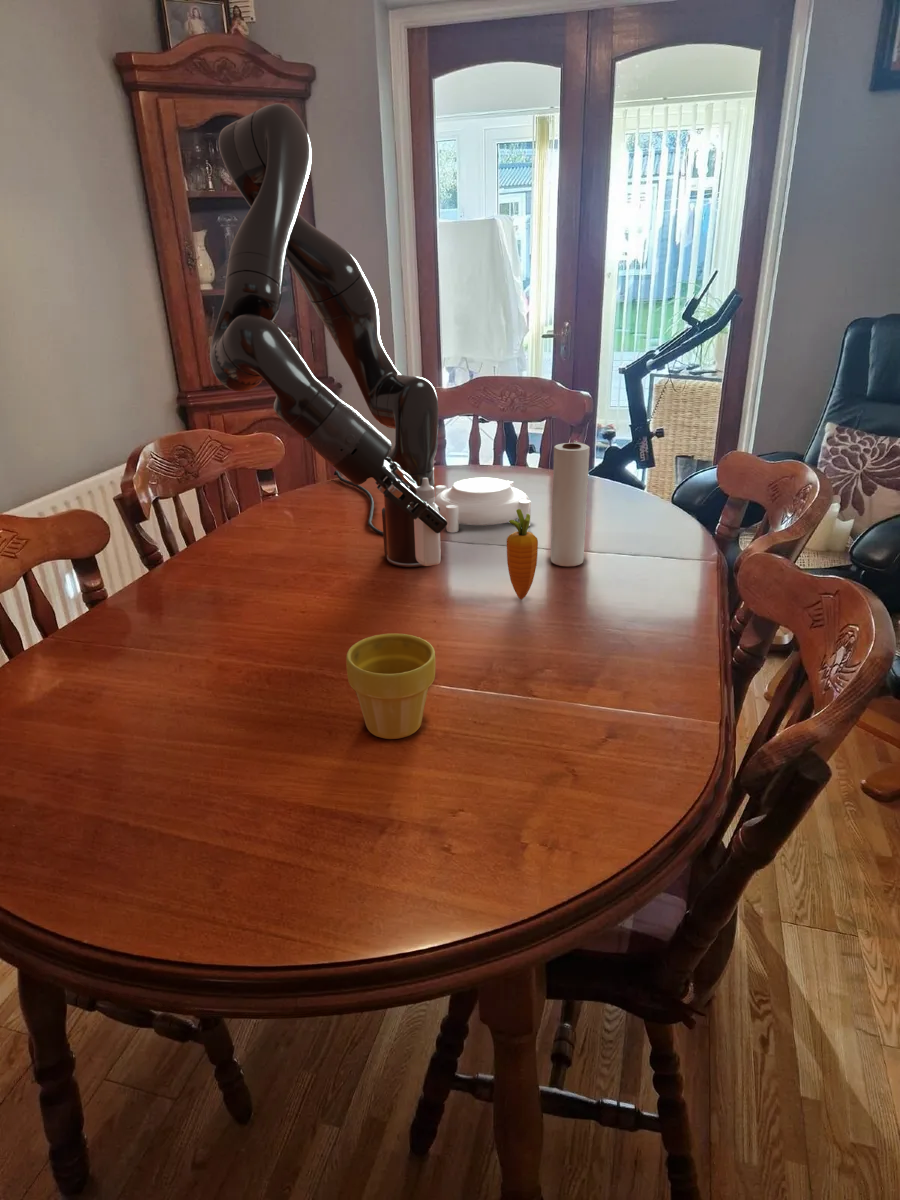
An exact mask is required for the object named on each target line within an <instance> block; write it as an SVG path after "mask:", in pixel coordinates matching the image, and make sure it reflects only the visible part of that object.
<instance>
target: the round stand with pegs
mask: <svg viewBox="0 0 900 1200" xmlns="http://www.w3.org/2000/svg"><path fill="white" fill-rule="evenodd" d="M447 487H448V486H447V485H444V484H438V485H436V486H435V504H436V505H437V506H439V508H440V512H439V514H440V515H441V516H442V517H443V518H444V519H446V521H447V526H446V531H447V532H448V533H458V532H459V529H460V526H459V525H465V526H493V525H501V524H507V523H509V521H510V520H514V521H518V522H519V523H520V520H519V517H518V515H517V511H516V510H518V509H521V511H522V514H523V517H524V520H525V518H526V514H529V515H530V518H531V516H532V514H531V513H532V512H531V511H532V510H531V509H532V501H531V500H530V498H529V497H528V495H527V494H526V493H525V492H524V491H523V490H521V489H519V488H516V487H514V481H512V480H505V479H501V478H496V477H487V476H485V477H481V476H480V477H471V478H470V477H469V478H463V479H460V480H457V481H455V482H454V483H453V484H452V485H451V487H449V488H447ZM530 526H531V522H530V523H529V526H528V527H530Z"/></svg>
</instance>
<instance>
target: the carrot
mask: <svg viewBox="0 0 900 1200" xmlns="http://www.w3.org/2000/svg"><path fill="white" fill-rule="evenodd" d="M516 511H517V515H518V517H519V520H520V523H519V522H518V520H510V521H509V522H508V523H509V524H510V525H513V526H514V527H515V529H516V531H514V532H512V533H511V534H509V535H508V536H507V538H506V562H507V570H508V575H509V579H510V583H511V585H512V588H513V591H514V592H515V594H516V596H517V597H518V598H519V600H520V601H522V600H523V599H524V598H526V596H527V595H528V593H529V591H530V589H531V587H532V584H533V583H534V582H533V581H534V578H535V574H536V568H537V563H538V551H539V550H538V549H539V541H538V537H537V536H536V535H535V534H534V533H533V532H531V531H528V529H529V527H530V526H529V523H530V524H531V517H530V515H529V514H526V518H525V520H524V517H523V514H522V511H521V509H518V510H516Z"/></svg>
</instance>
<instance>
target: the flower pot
mask: <svg viewBox="0 0 900 1200" xmlns="http://www.w3.org/2000/svg"><path fill="white" fill-rule="evenodd" d="M345 664H346V665H345V666H346V676H347V681H348V684H349V686H350V688H351V689H352V690H353V691H355V695H356V697H357V700H358V703H359V706H360V711H361V713H362V716H363V721H364V723H365V726H366V729H367V730H368V732H369V733H370V734H372V735H373V736H375V737H378V738H381V739H386V740H399V739H403V738H406V737H410V736H411V735H413V734H415V733H416V732H417V731H418V730H419V729H420V727H421V725H422V721H423V717H424V711H425V707H426V702H427V696H428V693H429V688H430V687H431V686H432V685H433V683H434V681H435V679H436V651H435V648H434V647H433V645H432V644H431V643H430V642H429V641H427V640H426V639H423V638H422V637H419V636H416V635H414V634H413V635H412V634H407V633H382V634H375V635H372V636H368V637H365V638H362V639H361V640H359V641H356V642H355V643H354V644H353V645H351V647H349V649H348V650H347V652H346V655H345Z"/></svg>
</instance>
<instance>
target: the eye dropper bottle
mask: <svg viewBox="0 0 900 1200" xmlns="http://www.w3.org/2000/svg"><path fill="white" fill-rule="evenodd" d="M418 490H419V492H418V494H419V495H420V496H421V497H422V498H423V499H424V500H426V501H427V502H428V504H429V505H430V506H431V507H432V508H433V509H434V510H435V511H436V512H438V513H439V509H438V507H437V505H436V504H435V503H434V502H435V498H436V490H434V487H432V486H430V485H429V481H428V478H423V481H422V485H421V486H420V487H418ZM417 504H418V503H417ZM417 504H416V505H417ZM416 505H415V506H416ZM414 533H415V556H416V560H417V561H418V562H419V563H420V564H422V565H424V566H423V567H430V566H437V565H439V564H440V563H441V560H442V559H441V558H442V557H441V556H442V555H441V554H442V553H441V532H440V533H435V532H434V531H433V530H432V529H431V528H430V527H428V526H427V525H426V524H425V523H424V522H423V521H421V520H420V519H419V518H417V519H416V520H415V519H414Z"/></svg>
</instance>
